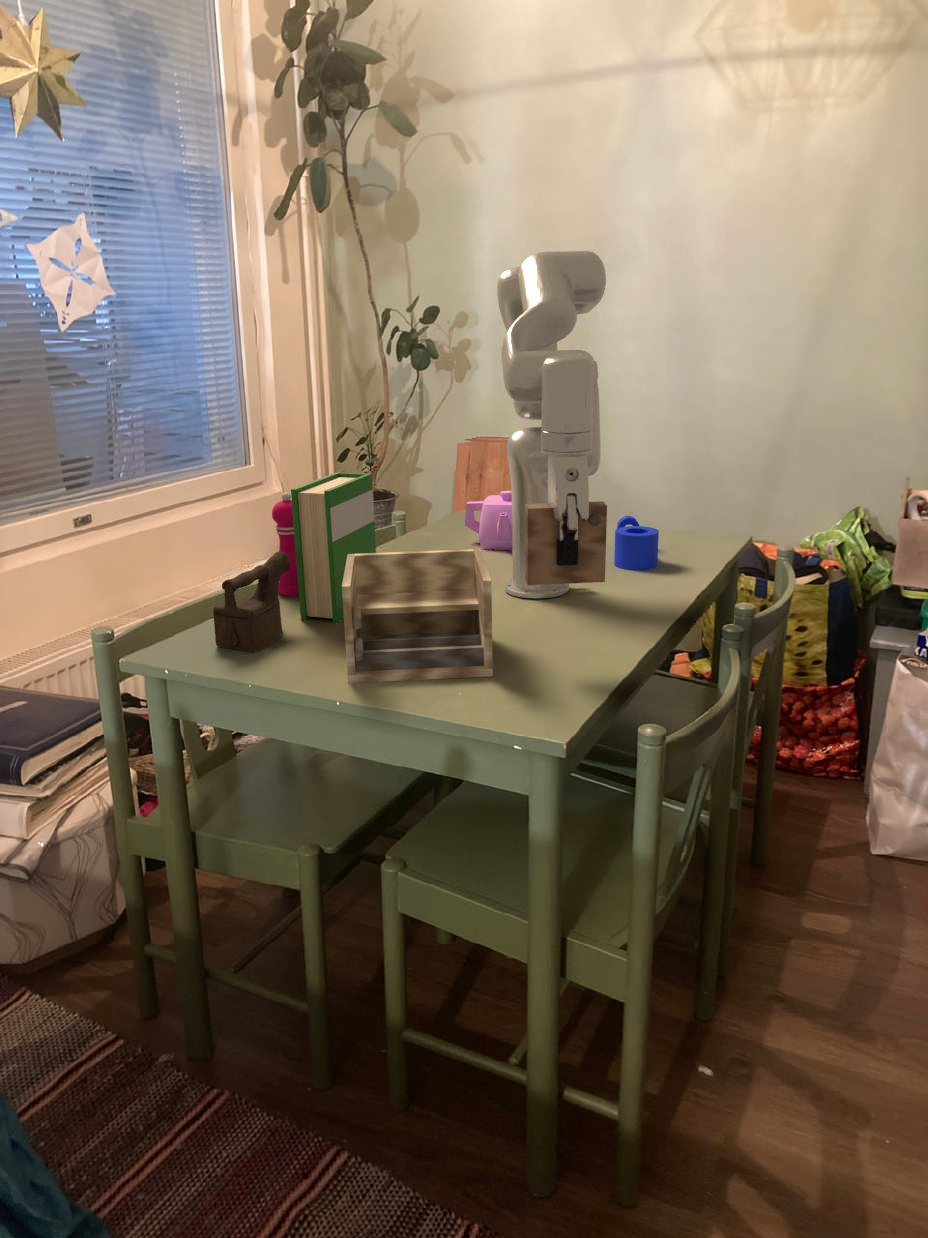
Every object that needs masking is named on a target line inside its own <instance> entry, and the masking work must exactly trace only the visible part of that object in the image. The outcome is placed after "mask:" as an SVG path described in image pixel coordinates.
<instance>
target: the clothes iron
mask: <svg viewBox="0 0 928 1238" xmlns="http://www.w3.org/2000/svg"><path fill="white" fill-rule="evenodd" d="M289 568H290V560H289V557H288V556H287V555H286V554H285V553H284V552H279V551H276V552H275V553H274V554H273V555H272V556H271V557H269V558H268V559H267V560H266V561H265V562H264V564H263V565H262V564H261V565H260V564H258V565H257V566H255V567H254V568H252V569H250V570H246V571H244V572H242V573H239V574H238V575H236V576H235V577H233V578H230V579H225V580H224V581H222V584H221V589H222V590H224V606H221V605H219V606H215V607H213V612H212V613H213V614H212V615H213V624H214V625H213V627H214V635H215V636H214V638H215V644H216V646H217V647H218V648H224V649H228V650H229V649H231V650H235V649H236V650H237V651H242V652H248V651H249V653H257V652H260V651H261V650H263V649H265V648H267V647H268V646H271V645H272V644H273V643H275V642H276V641H277V640H279V638H280V637H281V636H282V634H283V626H282V617H281V605H280V599H279V593H278V586H279V582H280V581H279V580H280V577H281V574H282V573H285V572H287V571H288V570H289ZM256 581H257V585H256V590H255V592H254V593H253V595H252V596H251V597H250V598H247V599H245V600H241V601H237V602H236V598H235V597H236V596H235V592H236V591H237V590H238V589H243V588H246V587H248V586H250V585H252V584H253V583H255V582H256Z"/></svg>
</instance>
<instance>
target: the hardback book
mask: <svg viewBox="0 0 928 1238" xmlns="http://www.w3.org/2000/svg"><path fill="white" fill-rule="evenodd" d="M373 488H374V487H373V473H365V472H362V473H361V472H360V473H359V472H341V471H340V472H339V471H338V472H334V473H331V474H329V475H328V474H327V475H325V476H322V477H321V478H317V479H314V480H312V481H310V482H307V483H304V484H301V485H299V486H296V487H293V488H291V489H290V493H291V494H290V495H291V500H292V510H293V523H294V535H295V548H296V561H297V574H298V586H299V595H298V597H299V609H300V620H301V621H305V620H306V621H307V620H310V618H313V617H315V618H322V619H323V618H324V619H332V624H336V623H337V624H338V625H339V624H340V623H341V622H343V621H344V612H343V597H342V583H343V577H344V572H345V566H346V561H347V555H348V554H363V553H377V544H376V542H377V541H376V527H375V526H376V525H375V505H374V489H373ZM339 622H340V623H339Z"/></svg>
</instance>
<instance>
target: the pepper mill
mask: <svg viewBox="0 0 928 1238" xmlns="http://www.w3.org/2000/svg"><path fill="white" fill-rule="evenodd" d="M281 499H282V500H280V501H278V502H276V503H275V504H274V505H273V507H272V510H271V517H272V520H273V521H274V522H275V523H276V524H277V525H275V529H276V530H275V532H276V534H278V537H279V538H278V539H279V548H278V552H284V553H285V554H286V555H287V556H288V557H289V560H290V568H289V570H288V571H287V572H285V573H282V574H281V577H280V580H279V586H278V595H281V596H286V597H291V596H293V597H295V596H299V586H298V574H297V561H296V548H295V535H294V523H293V510H292V497H291V494H290V492H287V491H285V492H283V493H282V494H281Z"/></svg>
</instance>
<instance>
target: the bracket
mask: <svg viewBox="0 0 928 1238" xmlns="http://www.w3.org/2000/svg"><path fill="white" fill-rule="evenodd" d="M629 525H630V526H629ZM659 532H660V531H659V530H658V529H657V528H654V527H650V526H642V525H641V526H640V524H639V522H638V520H637V519H636V518H635V517H634V516H633V515H632V516H631V515H624V516H623V517H620V518H619V520H618V522H617V524H616V528H615V530H614V561H613V562H614V565H613V566H615V567H616V568H618V569H621V570H625V571H640V572H641V571H651V570H653V569H656V568H658V562H659V561H658V559H659V537H660V536H659Z"/></svg>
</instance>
